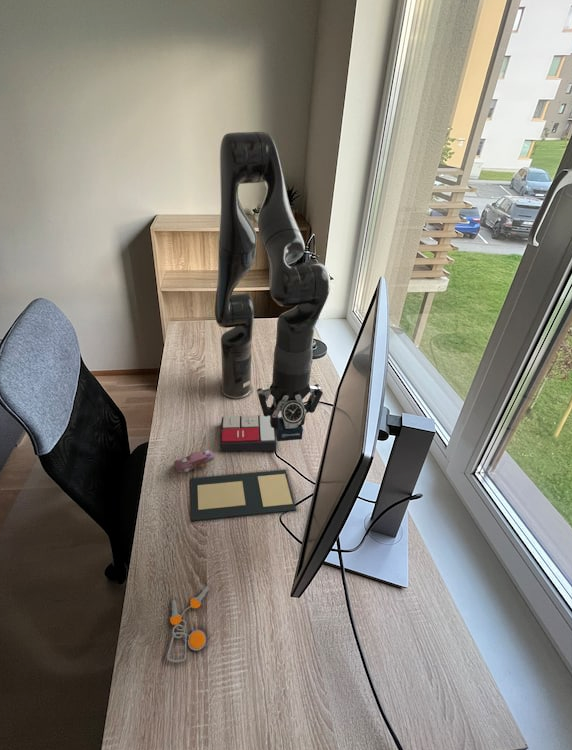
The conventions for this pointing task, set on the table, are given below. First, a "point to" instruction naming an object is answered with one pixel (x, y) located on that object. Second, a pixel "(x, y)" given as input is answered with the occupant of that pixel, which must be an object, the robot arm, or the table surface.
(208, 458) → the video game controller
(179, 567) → the table surface
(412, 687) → the table surface
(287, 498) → the desk mat
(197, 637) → the key chain
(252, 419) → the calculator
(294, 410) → the watch
